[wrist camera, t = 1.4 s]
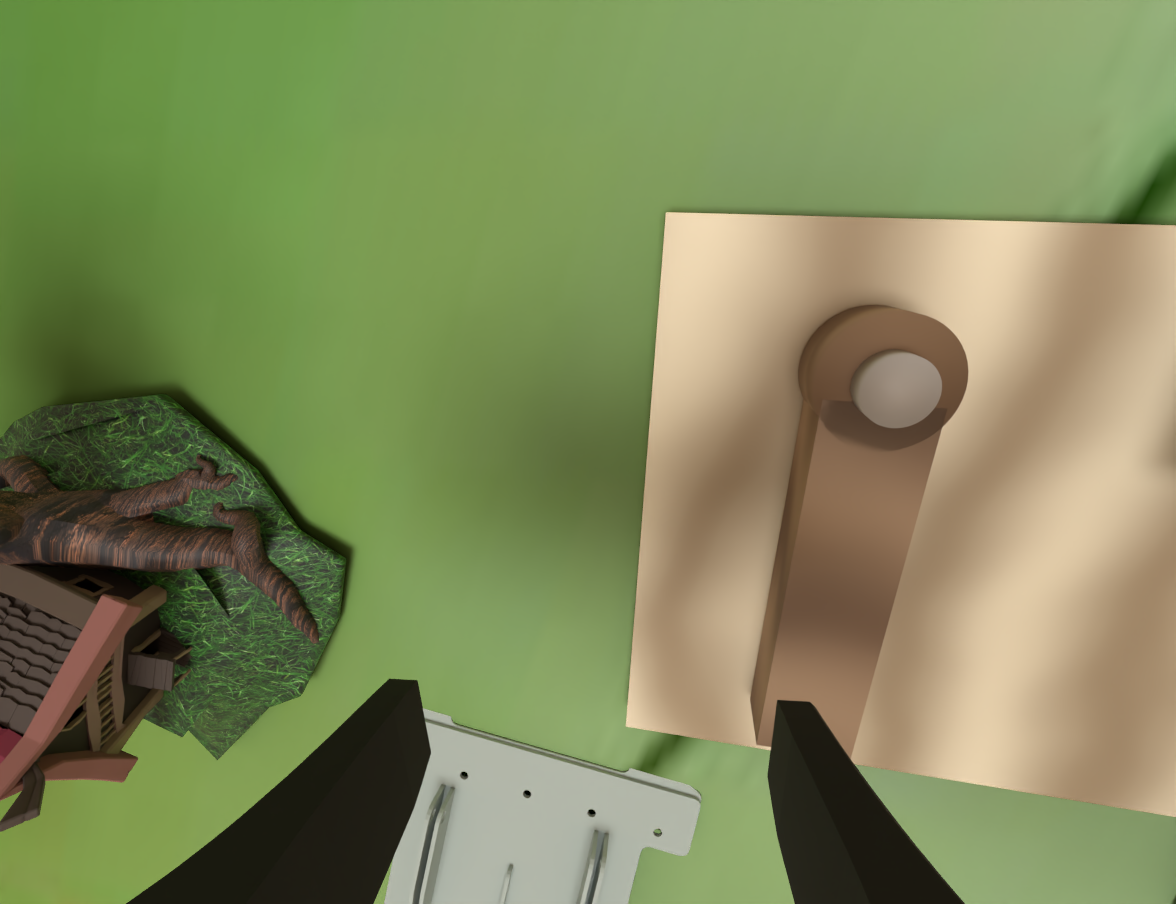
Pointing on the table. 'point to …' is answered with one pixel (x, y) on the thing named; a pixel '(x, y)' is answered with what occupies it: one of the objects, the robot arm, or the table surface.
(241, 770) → the table surface
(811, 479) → the latch bar
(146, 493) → the bonsai tree
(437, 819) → the metal bracket
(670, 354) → the base board
